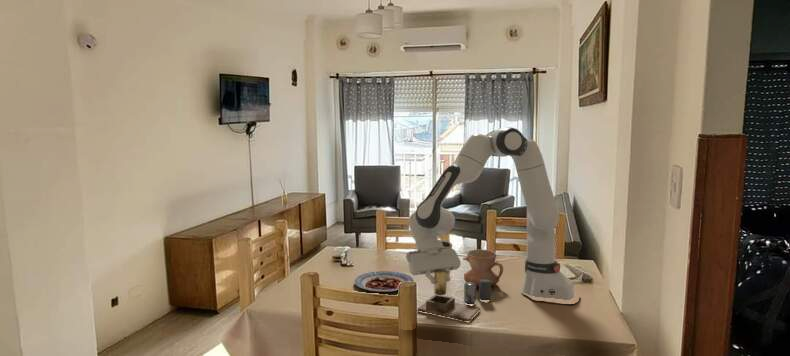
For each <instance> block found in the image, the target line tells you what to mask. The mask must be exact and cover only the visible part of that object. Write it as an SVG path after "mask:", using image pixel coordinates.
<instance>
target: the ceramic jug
mask: <svg viewBox="0 0 790 356" xmlns="http://www.w3.org/2000/svg"><path fill="white" fill-rule="evenodd" d="M466 255H467V256H463V257H462V260H463V261H467V262H468V263H469V266H470V268H471V269H469V270H468V271H466V272H465V273H463V279H464V281H465V283H466V282H473V283H475V284H476V288H479V285H480V280H483V279H486V280H490V281H491V287H493V286H496V285H497V284H498V283H499V282H500V278H501V277H502V275H503V273H504V265H503V263H501V262H499V261H496V257H497V253H496V252H495V251H492V250H490V249H471V250H469V251H467V254H466ZM495 266H498V268H499V272H498V274H496V272H494V271H493V270H492V269H493V268H494V267H495Z"/></svg>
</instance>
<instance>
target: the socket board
mask: <svg viewBox="0 0 790 356" xmlns="http://www.w3.org/2000/svg"><path fill="white" fill-rule="evenodd" d="M455 301H456V299H455V297H451V296H447V295H437V294H435V293H434V295H432V296H431V297H430V298H428V299H427V300H426V301H425V302H424V303H423V304H421V305H420V306H418V307H417V312H418V311H422V312H427V313H432V314H436V315H441V316H445V317H450V318H454V319H458V320H462V321H470V320H471V318H472V317H473V316H474V315H475V314H476V313H477V312H478V311H479V310H480V311H481V307H479V306H476V305H475V306H470V305H465V304H464V303H461V302H460V303H458V302H455ZM471 321H472V320H471ZM471 321H470V322H471Z"/></svg>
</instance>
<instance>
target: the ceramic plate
mask: <svg viewBox="0 0 790 356" xmlns="http://www.w3.org/2000/svg"><path fill="white" fill-rule="evenodd" d="M402 281H410V282H414V283H415V279H414V277H413V276H411V275H409V274H406V273H404V272H399V271H393V270H392V271H391V270H383V271H382V270H381V271H380V270H378V271H371V272H370V271H369V272H367V273H363V274H361V275H358V276H357V277H355V279H354V284H355V286H357V287H358V288H360V289H363V290H367V291H370V292H382V293H383V292H386V293H387V292H397V289H398V285H399V283H400V282H402Z"/></svg>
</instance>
